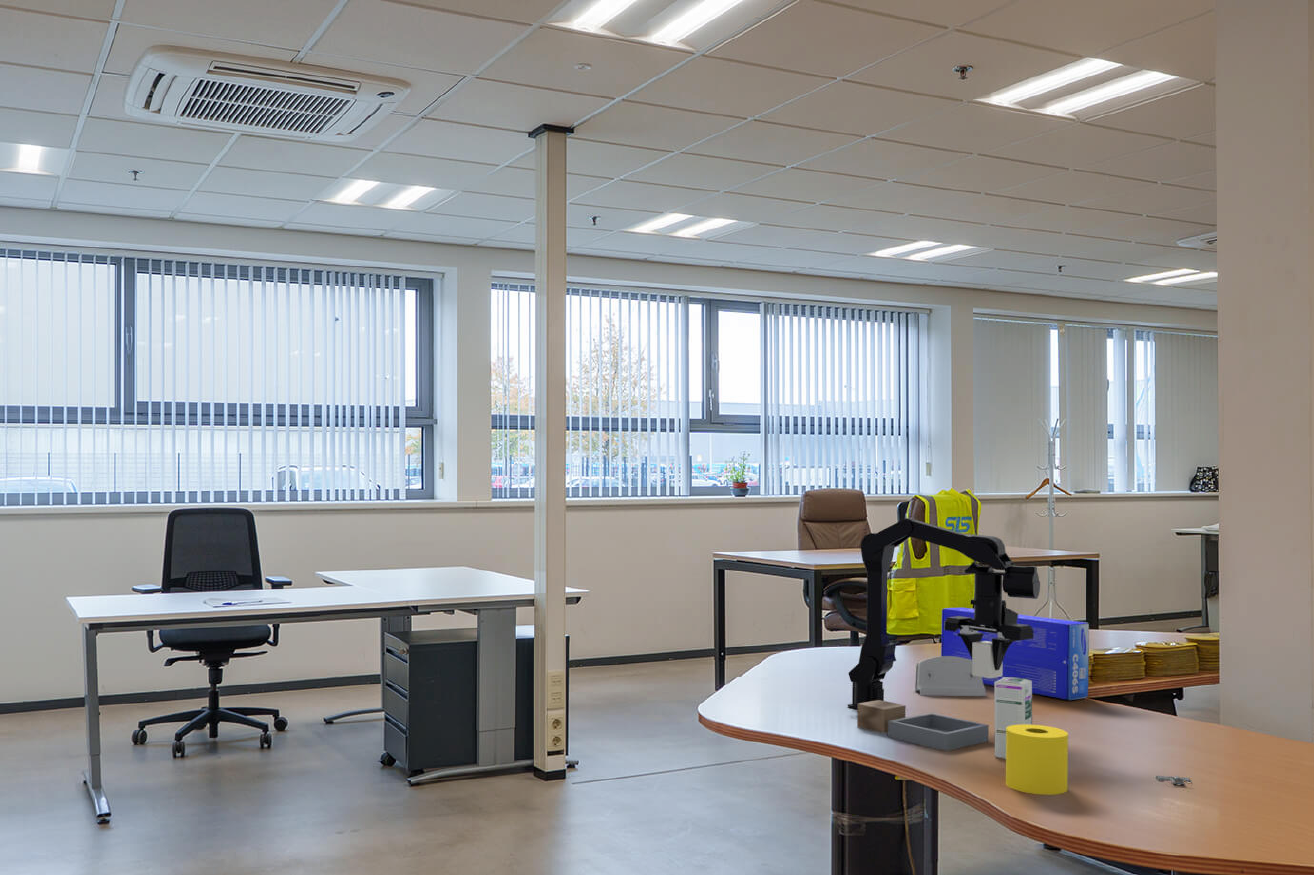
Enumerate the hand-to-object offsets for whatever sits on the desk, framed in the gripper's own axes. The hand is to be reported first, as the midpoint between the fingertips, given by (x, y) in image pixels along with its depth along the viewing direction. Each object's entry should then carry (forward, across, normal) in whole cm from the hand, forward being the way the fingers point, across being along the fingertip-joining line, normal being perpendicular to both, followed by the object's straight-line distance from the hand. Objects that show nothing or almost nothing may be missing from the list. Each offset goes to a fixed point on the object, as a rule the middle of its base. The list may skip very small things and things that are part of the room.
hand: (987, 668), depth 240 cm
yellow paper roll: (+12, -33, +35) cm, 50 cm away
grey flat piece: (+13, -43, +12) cm, 46 cm away
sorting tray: (+12, -2, +20) cm, 23 cm away
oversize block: (+12, +11, +21) cm, 27 cm away
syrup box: (+12, -19, +20) cm, 30 cm away
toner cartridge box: (+12, +22, -44) cm, 51 cm away
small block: (+2, 0, 0) cm, 2 cm away
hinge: (+12, +26, -24) cm, 38 cm away
